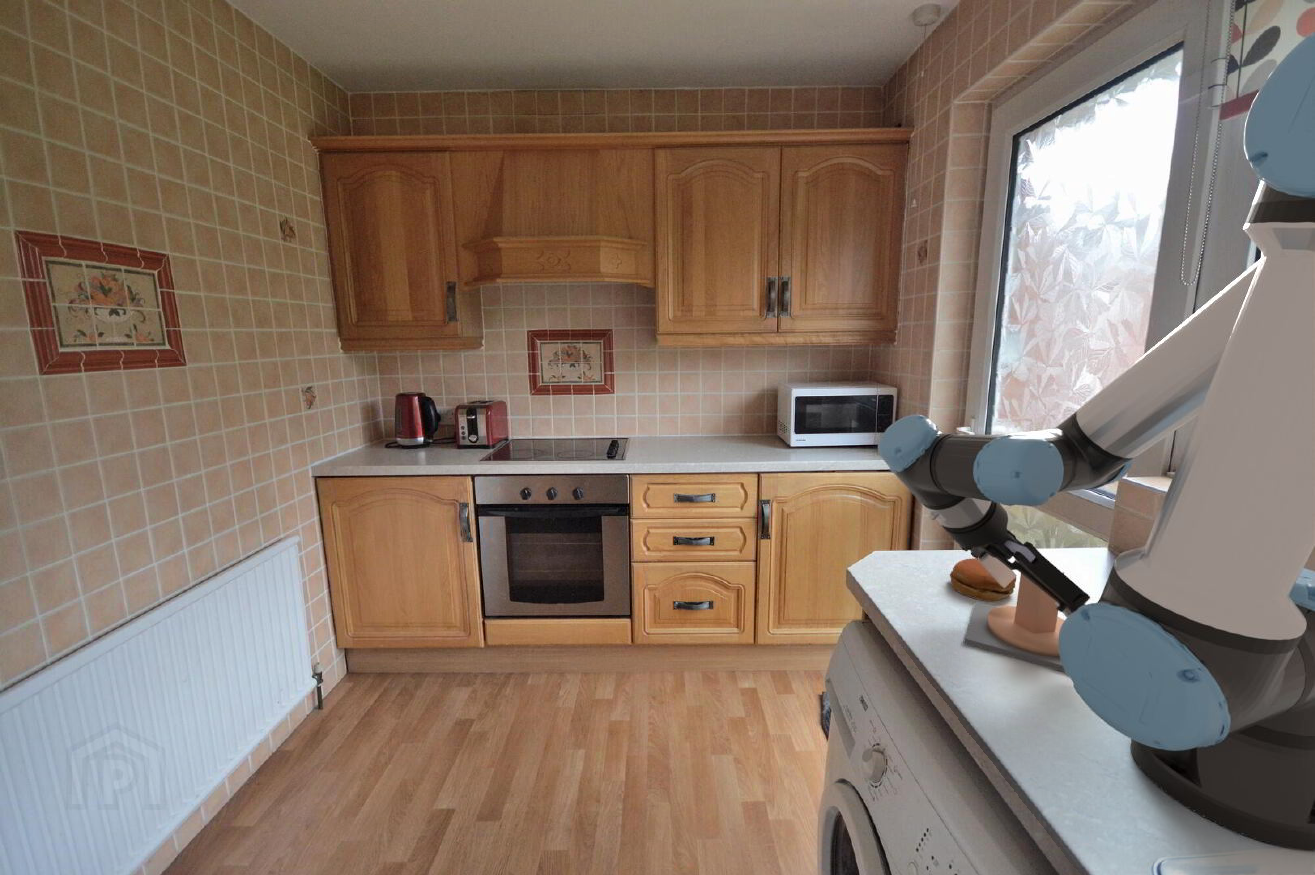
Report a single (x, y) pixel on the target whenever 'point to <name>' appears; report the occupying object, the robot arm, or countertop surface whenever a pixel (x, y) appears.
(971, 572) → the burger
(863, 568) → the countertop surface
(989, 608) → the mat
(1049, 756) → the countertop surface
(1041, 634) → the lid
